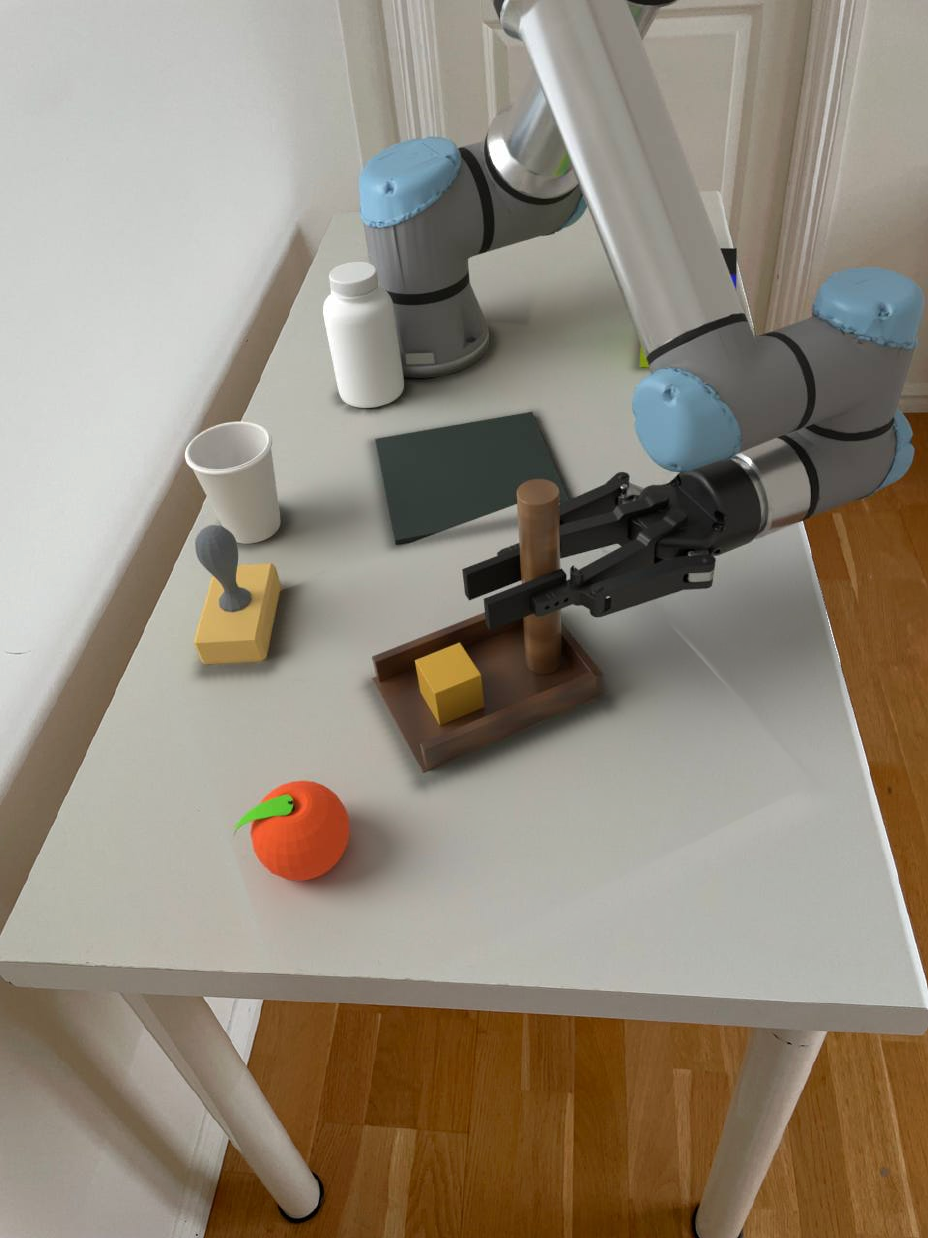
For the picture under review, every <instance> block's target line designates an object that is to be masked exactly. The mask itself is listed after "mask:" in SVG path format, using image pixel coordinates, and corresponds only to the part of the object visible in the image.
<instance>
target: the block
mask: <svg viewBox="0 0 928 1238" xmlns="http://www.w3.org/2000/svg"><path fill="white" fill-rule="evenodd" d="M415 664H416V670H417V675H418V681H419V686H420V692H421V694H422V696H423V697H424V699H425V701H426V703H427V704H428V706H429V708H430V709H431V711H432V713H433V715H434V716H435V718H436V720H437V721H438V723H439V725H443V724H445V723H447V722H450V721H452V720H455V719H457V718H459V717H462V716H464V715H466V714H469V713H471V712H474V711H476V710H478V709H481V708H483V707H484V698H483V688H482V679H481V674H480V672H479V671H478V669H477V668H476V666H475V665H474V663H473V662H472V660H471V659H470V657H469V656H468V654H467V653H466V651H465V650H464V648H463V647H462V645H461V644H460V643H457V644H455V645H452V646H450V647H447V648H445V649H442V650H440V651H437V652H435V653H432V654H430V655H427V656H425V657H422V658H420V659H417V660H415Z"/></svg>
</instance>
